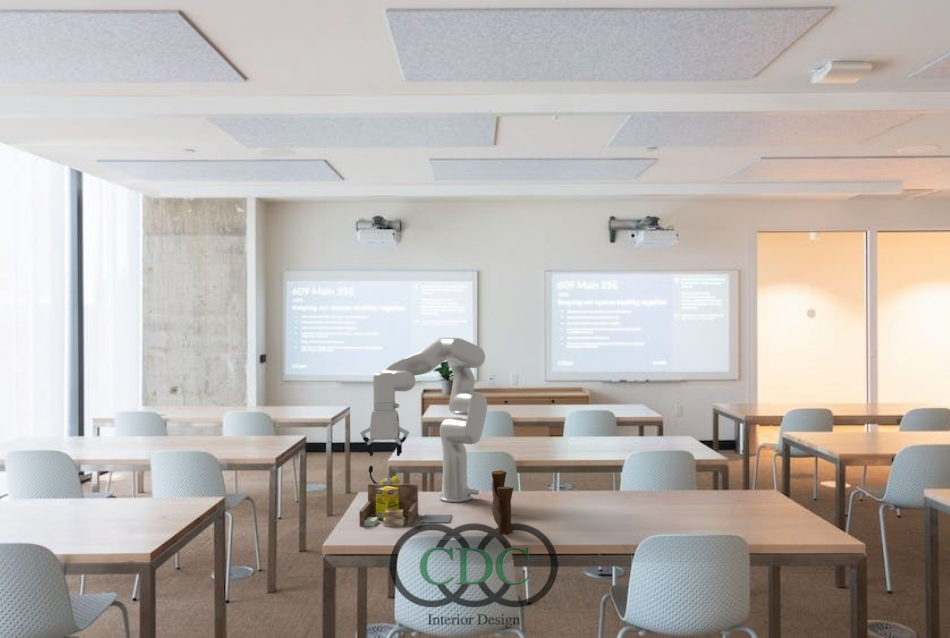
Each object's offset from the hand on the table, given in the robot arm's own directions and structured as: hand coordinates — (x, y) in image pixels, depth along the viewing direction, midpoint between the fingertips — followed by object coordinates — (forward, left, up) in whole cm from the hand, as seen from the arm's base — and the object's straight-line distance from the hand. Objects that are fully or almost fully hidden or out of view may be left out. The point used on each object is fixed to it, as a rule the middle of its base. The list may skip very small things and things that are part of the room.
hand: (385, 455), depth 266 cm
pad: (-18, +1, -22) cm, 29 cm away
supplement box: (-1, 0, -23) cm, 23 cm away
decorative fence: (-41, +5, -23) cm, 47 cm away
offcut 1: (+4, +7, -23) cm, 24 cm away
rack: (-2, +2, -22) cm, 23 cm away
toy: (+4, -24, -23) cm, 34 cm away
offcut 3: (-4, +7, -23) cm, 24 cm away
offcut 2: (-4, +7, -20) cm, 22 cm away
